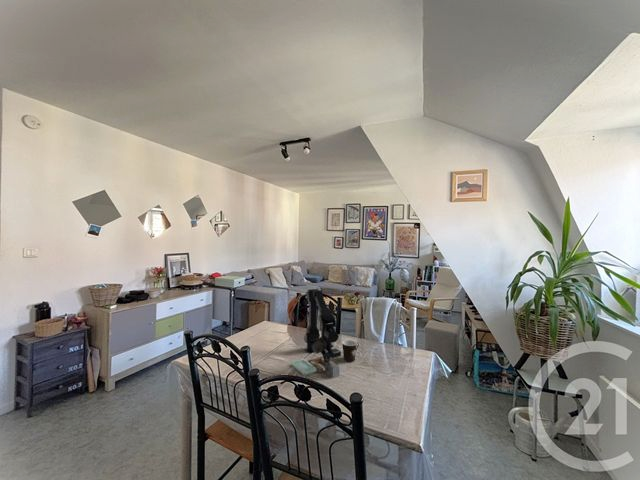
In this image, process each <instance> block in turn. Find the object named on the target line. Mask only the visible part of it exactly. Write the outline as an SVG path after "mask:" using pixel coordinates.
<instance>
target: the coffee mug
mask: <svg viewBox="0 0 640 480" xmlns="http://www.w3.org/2000/svg"><path fill="white" fill-rule="evenodd" d="M341 343H342V345H341V346H342V354H343V360H344V361H345V362H346V363H353V362H355V360H356V352H357V350H358V348H359V346H360V345H359V342H357V341H355V340H351V339H347V340H343V341H342V342H341Z"/></svg>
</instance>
